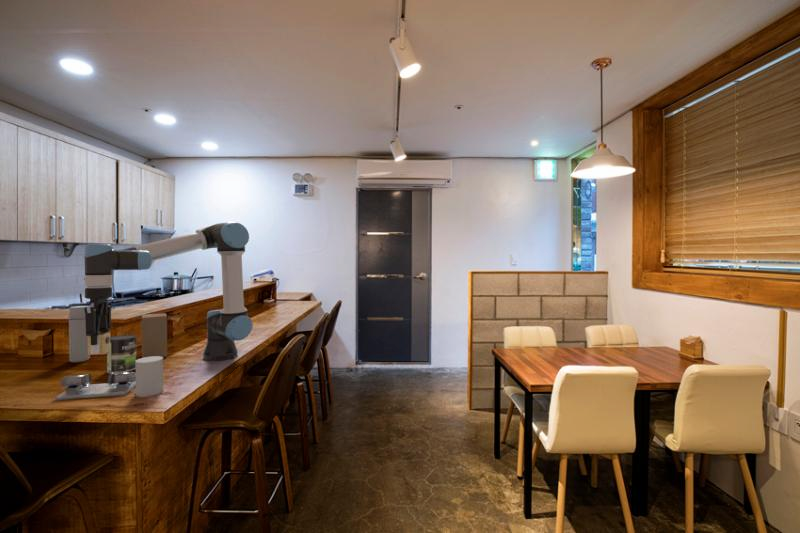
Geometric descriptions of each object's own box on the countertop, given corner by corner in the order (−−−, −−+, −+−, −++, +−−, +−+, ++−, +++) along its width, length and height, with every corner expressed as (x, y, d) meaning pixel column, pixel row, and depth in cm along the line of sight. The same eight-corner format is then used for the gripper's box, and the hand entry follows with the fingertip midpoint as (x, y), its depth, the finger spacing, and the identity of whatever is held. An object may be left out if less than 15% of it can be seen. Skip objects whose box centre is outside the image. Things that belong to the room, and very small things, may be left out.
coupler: (87, 354, 127) (87, 335, 127) (93, 352, 131) (93, 332, 131) (105, 354, 129) (104, 334, 129) (110, 351, 133) (110, 332, 132)
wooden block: (166, 352, 184) (165, 313, 183) (167, 356, 176) (167, 315, 175) (141, 355, 178) (141, 314, 177) (141, 360, 170) (141, 317, 169)
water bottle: (92, 360, 167) (91, 306, 167) (69, 364, 162) (68, 308, 161) (89, 356, 174) (88, 304, 173) (67, 360, 168) (66, 306, 167)
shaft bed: (139, 384, 138) (139, 366, 138) (126, 394, 128) (126, 375, 128) (73, 388, 133) (73, 370, 133) (54, 400, 122) (53, 380, 122)
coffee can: (143, 367, 159) (142, 335, 159) (120, 374, 149) (120, 340, 149) (123, 365, 161) (123, 333, 161) (100, 372, 151) (99, 339, 151)
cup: (166, 392, 131) (166, 359, 130) (139, 398, 125) (138, 364, 124) (159, 386, 136) (159, 354, 136) (133, 392, 130) (132, 359, 130)
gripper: (99, 285, 137) (99, 346, 137) (71, 289, 120) (71, 359, 121) (122, 285, 139) (122, 345, 139) (98, 288, 122) (98, 357, 123)
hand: (99, 351), depth 130 cm, fingers closed on coupler, 4 cm apart
